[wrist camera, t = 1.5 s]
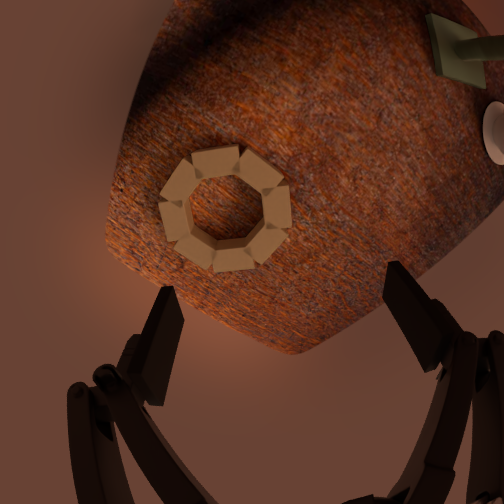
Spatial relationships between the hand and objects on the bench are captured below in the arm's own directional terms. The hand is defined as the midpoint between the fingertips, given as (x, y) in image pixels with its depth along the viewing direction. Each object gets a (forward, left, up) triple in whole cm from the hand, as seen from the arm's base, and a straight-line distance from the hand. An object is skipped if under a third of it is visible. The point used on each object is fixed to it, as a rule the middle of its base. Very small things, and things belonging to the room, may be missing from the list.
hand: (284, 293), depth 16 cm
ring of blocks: (-1, -5, -16) cm, 17 cm away
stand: (-21, +27, -16) cm, 38 cm away
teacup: (-10, +37, -16) cm, 41 cm away
